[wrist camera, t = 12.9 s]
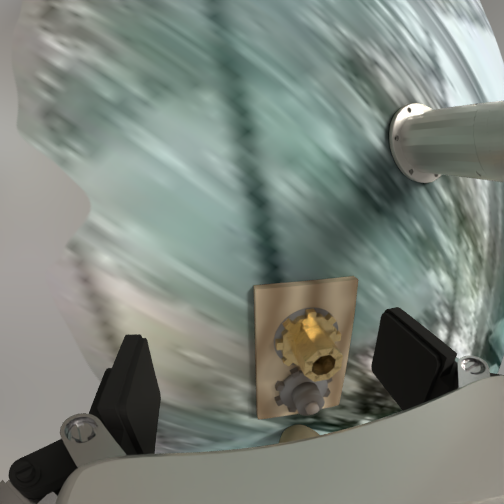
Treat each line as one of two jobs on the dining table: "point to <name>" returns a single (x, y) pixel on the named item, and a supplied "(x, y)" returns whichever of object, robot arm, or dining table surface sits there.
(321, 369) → the brass gear
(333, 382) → the gear board
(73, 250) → the dining table surface
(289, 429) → the flower pot
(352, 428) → the robot arm
